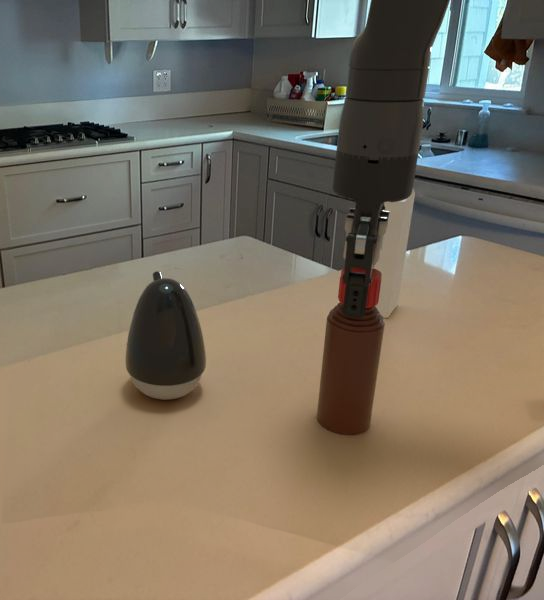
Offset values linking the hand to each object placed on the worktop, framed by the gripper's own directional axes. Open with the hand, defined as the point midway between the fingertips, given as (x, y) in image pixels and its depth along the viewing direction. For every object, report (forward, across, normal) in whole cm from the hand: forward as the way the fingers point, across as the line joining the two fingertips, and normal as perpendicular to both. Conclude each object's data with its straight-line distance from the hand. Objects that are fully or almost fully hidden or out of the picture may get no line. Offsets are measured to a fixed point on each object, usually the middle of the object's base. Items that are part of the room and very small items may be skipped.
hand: (355, 306), depth 66 cm
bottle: (+15, 0, 0) cm, 15 cm away
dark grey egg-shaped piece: (+15, +1, -22) cm, 26 cm away
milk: (+15, -34, +1) cm, 37 cm away
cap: (-1, 0, 0) cm, 1 cm away
